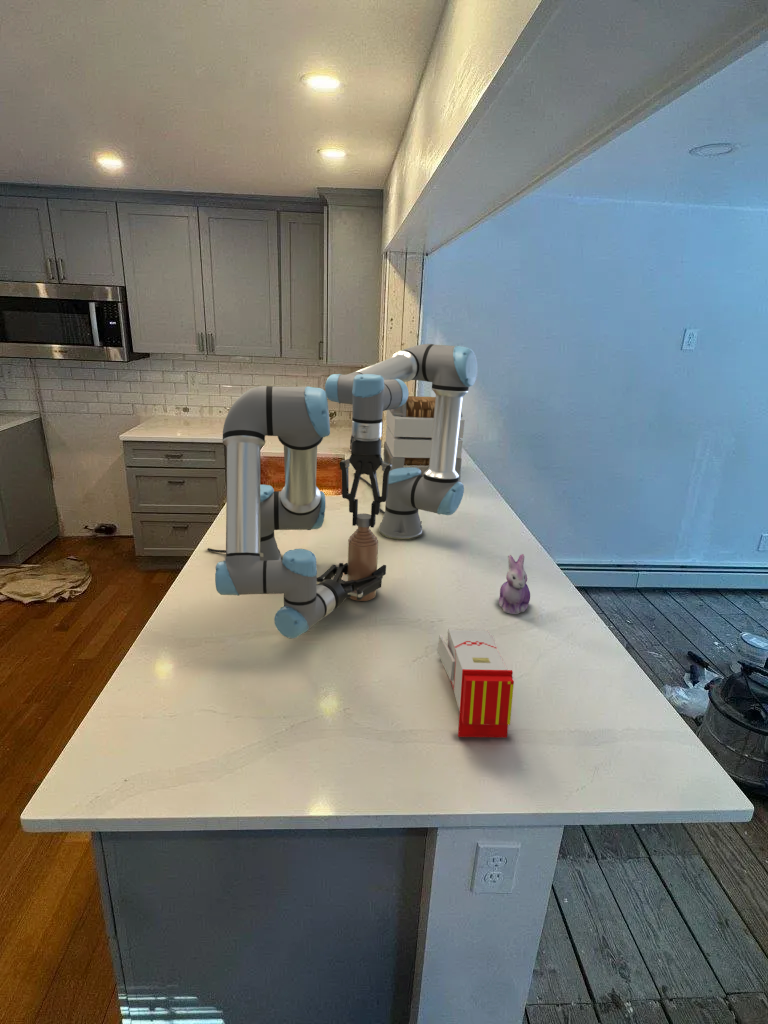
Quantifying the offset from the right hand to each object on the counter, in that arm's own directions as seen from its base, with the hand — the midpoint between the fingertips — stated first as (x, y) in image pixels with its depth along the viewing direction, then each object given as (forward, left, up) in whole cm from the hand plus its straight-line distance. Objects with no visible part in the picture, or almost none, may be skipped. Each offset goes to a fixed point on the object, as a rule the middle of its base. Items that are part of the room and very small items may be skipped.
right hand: (363, 524), depth 150 cm
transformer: (-80, +99, -21) cm, 129 cm away
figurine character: (-132, +101, -21) cm, 167 cm away
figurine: (+30, +29, -21) cm, 47 cm away
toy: (+47, -9, -21) cm, 52 cm away
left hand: (-2, +4, -14) cm, 15 cm away
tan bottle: (0, 0, -21) cm, 21 cm away
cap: (0, 0, +2) cm, 2 cm away
